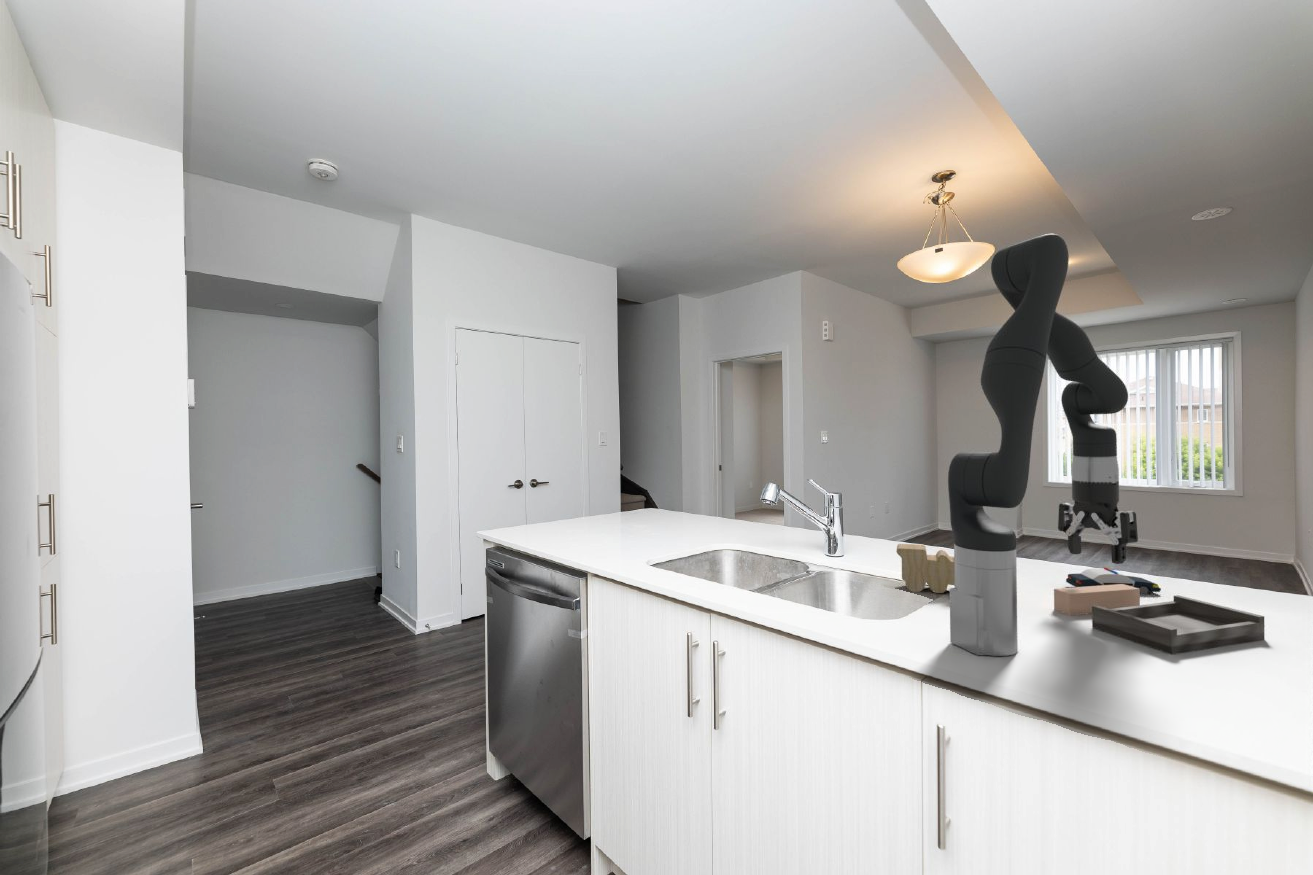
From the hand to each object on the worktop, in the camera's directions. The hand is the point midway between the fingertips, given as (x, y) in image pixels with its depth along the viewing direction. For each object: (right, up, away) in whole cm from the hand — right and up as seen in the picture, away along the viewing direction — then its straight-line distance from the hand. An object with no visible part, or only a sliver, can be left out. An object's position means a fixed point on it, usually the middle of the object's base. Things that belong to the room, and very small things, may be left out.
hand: (1096, 558), depth 115 cm
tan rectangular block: (0, -11, 0) cm, 11 cm away
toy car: (+13, -10, +13) cm, 21 cm away
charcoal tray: (+4, -10, -14) cm, 17 cm away
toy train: (-24, -11, +15) cm, 31 cm away
